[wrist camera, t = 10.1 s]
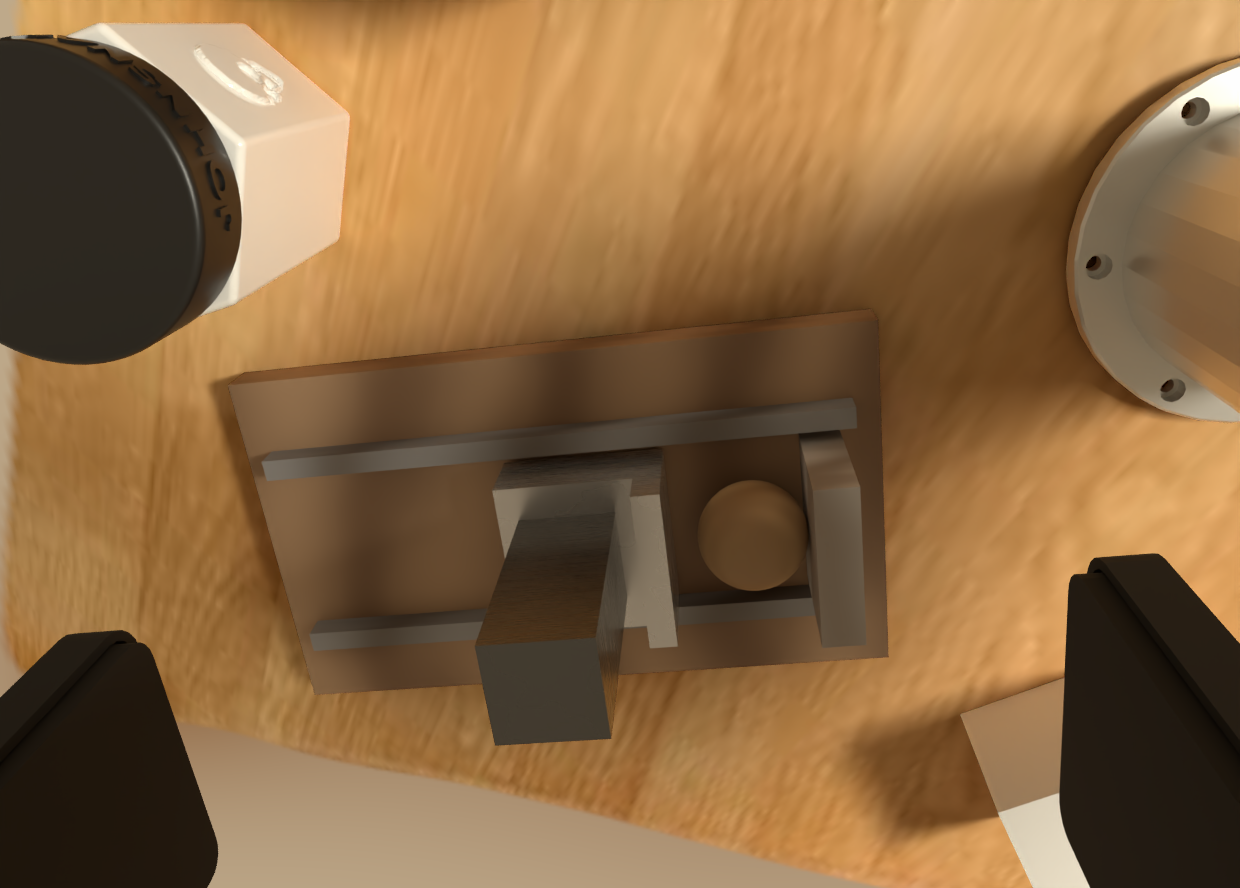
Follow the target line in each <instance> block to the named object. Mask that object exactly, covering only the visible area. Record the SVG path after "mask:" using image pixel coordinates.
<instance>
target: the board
mask: <svg viewBox="0 0 1240 888" xmlns="http://www.w3.org/2000/svg"><path fill="white" fill-rule="evenodd" d="M228 388H229V392H230V395H231V399H232V402H233V406H234V409H235V413H236V416H237V420H238V424H239V427H240V431H241V434H242V438H243V441H244V445H245V448H246V452H247V455H248V459H249V463H250V466H251V470H252V473H253V477H254V480H255V484H256V487H257V491H258V495H259V498H260V502H261V505H262V509H263V512H264V516H265V519H266V523H267V527H268V530H269V534H270V537H271V541H272V544H273V548H274V551H275V555H276V559H277V562H278V566H279V569H280V573H281V576H282V580H283V583H284V587H285V590H286V594H287V598H288V601H289V605H290V608H291V612H292V615H293V619H294V622H295V626H296V630H297V633H298V637H299V640H300V644H301V647H302V651H303V654H304V658H305V662H306V665H307V669H308V672H309V676H310V679H311V683H312V686H313V690H314V693H315V695H320V694H335V693H350V692H366V691H381V690H396V689H411V688H426V687H442V686H457V685H472V684H482V679H481V675H480V670H479V665H478V660H477V655H476V651H475V644H476V641H477V638H478V635H479V632H480V629H481V626H482V624H483V621H484V618H485V615H486V612H487V609H488V606H489V604H490V601H491V598H492V595H493V592H494V589H495V586H496V584H497V581H498V578H499V575H500V572H501V569H502V566H503V564H504V561H505V556H504V551H503V545H502V540H501V535H500V529H499V524H498V519H497V513H496V508H495V503H494V497H493V492H492V490H493V488H494V485H495V483H496V481H497V478H498V476H499V474H500V471H501V469H502V467H503V464H504V463H506V462H517V461H529V460H540V459H551V458H562V457H573V456H585V455H596V454H607V453H618V452H629V451H641V450H652V449H663V456H664V464H665V473H666V481H667V490H668V498H669V507H670V515H671V524H672V533H673V541H674V550H675V558H676V567H677V575H678V584H679V615H678V647H663V648H650V646H649V638H648V631H647V626H639V627H624V631H623V640H622V649H621V657H620V666H619V675H624V674H639V673H655V672H670V671H685V670H700V669H716V668H731V667H746V666H761V665H776V664H792V663H807V662H822V661H837V660H852V659H868V658H883V657H888V627H887V595H886V563H885V530H884V498H883V465H882V433H881V401H880V368H879V336H878V319H877V318H876V316H875V314H874V313H873V311H872V310H871V309H865V310H856V311H846V312H836V313H826V314H816V315H806V316H797V317H787V318H777V319H767V320H757V321H748V322H738V323H728V324H718V325H708V326H698V327H689V328H679V329H669V330H659V331H649V332H640V333H630V334H620V335H610V336H600V337H590V338H581V339H571V340H561V341H551V342H541V343H531V344H522V345H512V346H502V347H492V348H482V349H473V350H463V351H453V352H443V353H433V354H423V355H414V356H404V357H394V358H384V359H374V360H364V361H355V362H345V363H335V364H325V365H315V366H306V367H296V368H286V369H276V370H266V371H256V372H247V373H243V374H242V375H240V376H239V377H238V378H237V379H235V380H234V381H233V382H231V383H230V384H229V385H228Z"/></svg>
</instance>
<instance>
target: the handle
mask: <svg viewBox="0 0 1240 888" xmlns="http://www.w3.org/2000/svg"><path fill="white" fill-rule="evenodd" d="M492 492H493V497H494V503H495V508H496V513H497V519H498V524H499V529H500V535H501V540H502V545H503V551H504V556H505V561H504V564H503V566H502V569H501V572H500V575H499V578H498V581H497V584H496V586H495V589H494V592H493V595H492V598H491V601H490V604H489V606H488V609H487V612H486V615H485V618H484V621H483V624H482V626H481V629H480V632H479V635H478V638H477V641H476V644H475V651H476V655H477V660H478V665H479V670H480V675H481V679H482V684H483V689H484V694H485V699H486V704H487V708H488V713H489V718H490V723H491V728H492V732H493V737H494V742H495V746H496V745H513V744H529V743H546V742H563V741H580V740H597V739H611V736H612V728H613V719H614V710H615V701H616V693H617V684H618V675H619V666H620V657H621V649H622V640H623V631H624V627H639V626H647V631H648V638H649V646H650V648H663V647H678V615H679V584H678V575H677V567H676V558H675V550H674V541H673V533H672V524H671V515H670V507H669V498H668V490H667V481H666V473H665V464H664V456H663V449H652V450H641V451H629V452H618V453H607V454H596V455H585V456H573V457H562V458H551V459H540V460H529V461H517V462H506V463H504V464H503V467H502V469H501V471H500V474H499V476H498V478H497V481H496V483H495V485H494V488H493V490H492Z"/></svg>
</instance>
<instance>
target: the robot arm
mask: <svg viewBox="0 0 1240 888" xmlns="http://www.w3.org/2000/svg"><path fill="white" fill-rule="evenodd" d="M1187 102H1188V103H1189V104H1190V111H1189V113H1188V114H1187V115H1186V116H1185V117H1182V116H1181V112H1182V109H1183V106H1184V105H1185V104H1186V103H1187ZM1093 256H1096V258H1097V261H1096V264H1095V265H1094V266H1093V267H1091V268H1086V265H1087V262H1088V261H1089V260H1090V259H1091V258H1092V257H1093ZM1066 278H1067V287H1068V295H1069V304H1070V307H1071V310H1072V313H1073V316H1074V319H1075V322H1076V325H1077V328H1078V331H1079V334H1080V335H1081V337H1082V339H1083V340H1084V342H1085V343H1086V345H1087V347H1088V348H1089V350H1090V351H1091V353H1092V355H1093V356H1094V358H1095V360H1096V361H1097V362H1098V363H1099V364H1100V365H1101V366H1102V367H1103V368H1104V369H1105V370H1106V371H1107V372H1108V373H1109V374H1110V375H1111V376H1112V377H1113V378H1114V379H1115V380H1116V381H1117V382H1119V383H1120V384H1121V385H1122V386H1124V387H1125V388H1126V389H1128V390H1129V391H1130V392H1132V393H1133V394H1134V395H1135V396H1137V397H1138V398H1140V399H1142V400H1143V401H1145V402H1147V403H1149V404H1151V405H1153V406H1155V407H1156V408H1158V409H1161V410H1163V411H1165V412H1169V413H1173V414H1176V415H1180V416H1183V417H1187V418H1191V419H1194V420H1200V421H1211V422H1223V423H1238V422H1240V58H1237V59H1234V60H1231V61H1228V62H1224V63H1221V64H1218V65H1216V66H1214V67H1212V68H1210V69H1208V70H1206V71H1204V72H1202V73H1200V74H1198V75H1196V76H1194V77H1192V78H1190V79H1188V80H1186V81H1184V82H1182V83H1181V84H1179V85H1178V86H1176V87H1175V88H1174V89H1172V90H1171V91H1170V92H1168V93H1167V94H1166V95H1164V96H1163V97H1161V98H1160V99H1159V100H1157V101H1156V102H1155V103H1153V104H1152V105H1150V106H1149V107H1148V108H1147V109H1146V110H1145V111H1144V112H1143V113H1142V114H1141V115H1140V116H1139V117H1138V118H1137V119H1136V120H1135V121H1134V122H1133V123H1132V124H1131V125H1130V126H1129V127H1128V128H1127V129H1126V130H1125V131H1124V132H1123V133H1122V134H1121V135H1120V136H1119V137H1118V138H1117V140H1116V141H1115V142H1114V144H1113V145H1112V147H1111V148H1110V149H1109V151H1108V152H1107V154H1106V155H1105V156H1104V158H1103V159H1102V161H1101V162H1100V163H1099V165H1098V166H1097V168H1096V169H1095V171H1094V173H1093V175H1092V177H1091V179H1090V181H1089V183H1088V185H1087V187H1086V189H1085V191H1084V193H1083V196H1082V198H1081V200H1080V202H1079V204H1078V208H1077V211H1076V215H1075V218H1074V222H1073V225H1072V229H1071V232H1070V236H1069V242H1068V253H1067V264H1066ZM1167 380H1169V381H1168V384H1167V385H1166V386H1165V387H1163V388H1161V386H1162V385H1163V384H1164V383H1165V382H1166V381H1167ZM1059 805H1060V813H1061V818H1062V823H1063V827H1064V830H1065V833H1066V836H1067V839H1068V841H1069V843H1070V845H1071V848H1072V850H1073V852H1074V854H1075V856H1076V858H1077V861H1078V863H1079V865H1080V867H1081V869H1082V872H1083V874H1084V876H1085V878H1086V880H1087V882H1088V885H1089V887H1090V888H1240V643H1239V642H1238V641H1237V640H1236V639H1235V638H1234V637H1233V636H1232V634H1231V633H1230V632H1229V631H1228V630H1227V629H1226V628H1225V626H1224V625H1223V624H1222V623H1221V622H1220V621H1219V620H1218V619H1217V617H1216V616H1215V615H1214V614H1213V613H1212V612H1211V611H1210V609H1209V608H1208V607H1207V606H1206V605H1205V604H1204V603H1203V601H1202V600H1201V599H1200V598H1199V597H1198V596H1197V595H1196V594H1195V592H1194V591H1193V590H1192V589H1191V588H1190V587H1189V586H1188V584H1187V583H1186V582H1185V581H1184V580H1183V579H1182V578H1181V577H1180V575H1179V574H1178V573H1177V572H1176V571H1175V570H1174V569H1173V567H1172V566H1171V565H1170V564H1169V563H1168V562H1167V561H1166V559H1165V558H1163V557H1162V556H1161V555H1159V554H1139V555H1126V556H1112V557H1099V558H1094V559H1093V560H1092V561H1091V562H1090V565H1089V567H1088V571H1087V574H1074V575H1073V576H1072V577H1071V580H1070V582H1069V590H1068V611H1067V633H1066V655H1065V677H1064V699H1063V722H1062V744H1061V766H1060V788H1059ZM217 858H218V844H217V840H216V837H215V833H214V830H213V828H212V825H211V822H210V819H209V816H208V813H207V810H206V807H205V805H204V802H203V799H202V796H201V793H200V790H199V787H198V784H197V781H196V778H195V776H194V773H193V770H192V767H191V764H190V761H189V758H188V755H187V753H186V750H185V747H184V744H183V741H182V738H181V735H180V732H179V730H178V727H177V724H176V721H175V718H174V715H173V712H172V709H171V706H170V703H169V700H168V698H167V695H166V692H165V689H164V686H163V683H162V680H161V677H160V674H159V672H158V669H157V666H156V663H155V660H154V657H153V655H152V653H151V651H150V649H149V648H148V647H147V646H146V645H145V644H143V643H137V641H136V639H135V638H134V637H133V636H132V635H131V634H130V633H128V632H126V631H123V630H117V631H104V632H91V633H77V634H70V635H66V636H65V637H63V638H62V639H60V640H59V641H58V642H57V643H56V644H55V645H54V646H53V647H52V648H51V649H50V650H49V651H48V652H47V653H46V654H44V655H43V656H42V657H41V658H40V659H39V660H38V661H37V662H36V663H35V664H34V665H33V666H32V667H31V668H30V669H29V670H28V671H27V672H26V673H25V674H24V675H23V676H22V677H21V678H20V679H19V680H18V681H17V682H16V683H15V684H14V685H13V686H12V687H11V688H10V689H9V690H8V691H7V692H6V693H5V694H3V695H2V696H1V697H0V888H207V887H208V885H209V883H210V882H211V880H212V877H213V875H214V873H215V870H216V866H217V860H218V859H217Z"/></svg>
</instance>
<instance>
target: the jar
mask: <svg viewBox="0 0 1240 888" xmlns="http://www.w3.org/2000/svg"><path fill="white" fill-rule="evenodd" d="M349 125H350V115H349V113H348V112H347V111H346V110H345V109H344V108H343V107H341V106H340V105H339V104H338V103H337V102H336V101H334V100H333V99H332V98H331V97H330V96H329V95H327V94H326V93H325V92H324V91H323V90H322V89H320V88H319V87H318V86H317V85H316V84H315V83H313V82H312V81H311V80H310V79H309V78H308V77H307V76H305V75H304V74H303V73H302V72H301V71H300V70H298V69H297V68H296V67H295V66H294V65H293V64H291V63H290V62H289V61H288V60H287V59H286V58H284V57H283V56H282V55H281V54H280V53H279V52H278V51H276V50H275V49H274V48H273V47H272V46H271V45H269V44H268V43H267V42H266V41H265V40H264V39H262V38H261V37H260V36H259V35H258V34H257V33H256V32H254V31H253V30H252V29H251V28H250V27H249V26H247V25H246V24H244V23H96V24H93V25H91V26H89V27H86V28H84V29H81V30H79V31H77V32H74V33H72V34H69V35H67V36H62V35H57V38H53V35H21V36H10V37H4V38H1V39H0V343H1V344H3V345H5V346H7V347H9V348H11V349H13V350H15V351H18V352H21V353H23V354H26V355H29V356H32V357H35V358H39V359H42V360H46V361H51V362H56V363H64V364H74V365H89V364H99V363H106V362H111V361H116V360H119V359H123V358H126V357H129V356H131V355H134V354H136V353H138V352H141V351H143V350H144V349H146V348H148V347H150V346H151V345H153V344H155V343H156V342H158V341H160V340H162V339H163V338H165V337H167V336H168V335H170V334H172V333H173V332H175V331H177V330H178V329H180V328H182V327H183V326H185V325H187V324H188V323H190V322H191V321H193V320H194V319H196V318H197V317H200V316H203V315H206V314H209V313H212V312H215V311H218V310H221V309H224V308H227V307H229V306H232V305H235V304H236V303H238V302H240V301H241V300H243V299H245V298H246V297H248V296H250V295H251V294H253V293H254V292H256V291H258V290H259V289H261V288H263V287H264V286H266V285H267V284H269V283H271V282H272V281H274V280H276V279H277V278H279V277H281V276H282V275H284V274H285V273H287V272H289V271H290V270H292V269H294V268H295V267H297V266H299V265H300V264H302V263H303V262H305V261H307V260H308V259H310V258H312V257H313V256H315V255H316V254H318V253H320V252H321V251H323V250H325V249H326V248H328V247H330V246H331V245H333V244H334V243H336V242H337V241H338V239H339V236H340V225H341V214H342V203H343V192H344V181H345V169H346V158H347V147H348V136H349Z"/></svg>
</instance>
